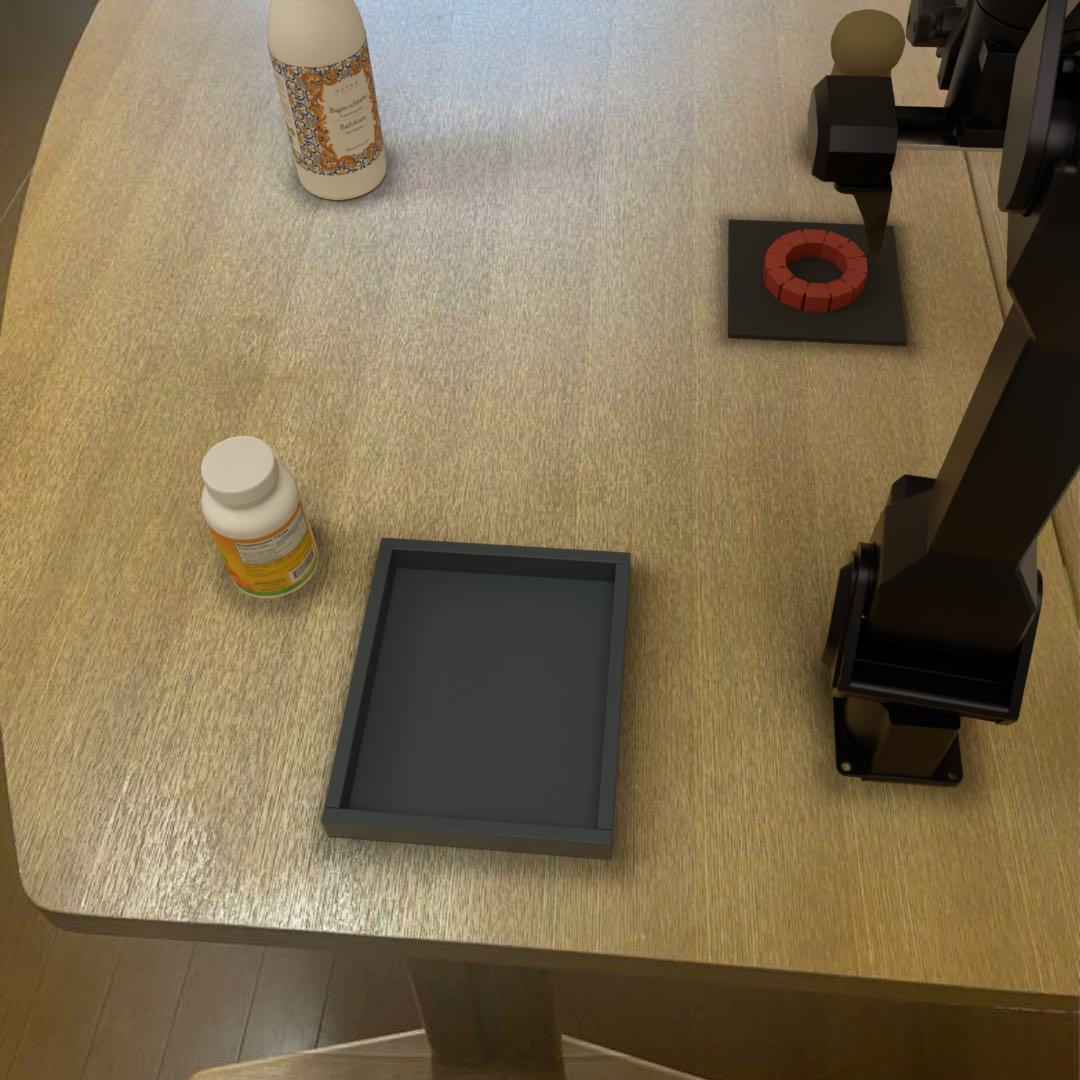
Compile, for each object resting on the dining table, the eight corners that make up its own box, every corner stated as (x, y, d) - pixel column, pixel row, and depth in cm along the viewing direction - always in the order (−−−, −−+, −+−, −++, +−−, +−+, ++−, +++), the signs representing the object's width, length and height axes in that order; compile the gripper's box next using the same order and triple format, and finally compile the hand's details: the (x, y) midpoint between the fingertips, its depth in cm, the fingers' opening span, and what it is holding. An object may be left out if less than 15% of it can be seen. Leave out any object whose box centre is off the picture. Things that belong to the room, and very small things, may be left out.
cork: (882, 180, 91) (915, 48, 82) (802, 172, 92) (826, 40, 83) (885, 132, 94) (917, 0, 85) (808, 125, 95) (831, -7, 86)
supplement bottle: (227, 538, 73) (184, 434, 65) (315, 521, 74) (282, 417, 66) (233, 610, 70) (188, 511, 62) (324, 592, 70) (291, 492, 63)
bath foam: (327, 215, 91) (271, -43, 74) (283, 170, 94) (220, -86, 78) (404, 179, 93) (366, -78, 77) (358, 136, 96) (313, -119, 80)
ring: (866, 314, 82) (870, 299, 81) (764, 309, 83) (766, 294, 81) (860, 246, 86) (864, 231, 85) (762, 242, 87) (765, 227, 86)
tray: (611, 863, 60) (612, 845, 58) (329, 840, 62) (320, 821, 59) (629, 576, 70) (630, 552, 68) (387, 561, 72) (381, 536, 70)
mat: (905, 346, 81) (907, 342, 80) (727, 338, 82) (728, 333, 81) (892, 229, 88) (893, 225, 87) (728, 223, 89) (729, 218, 88)
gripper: (1204, -83, 60) (1095, 177, 72) (827, -89, 61) (785, 167, 74) (1262, 42, 53) (1132, 303, 66) (840, 32, 55) (791, 289, 67)
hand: (954, 259), depth 68 cm, fingers open, 9 cm apart
